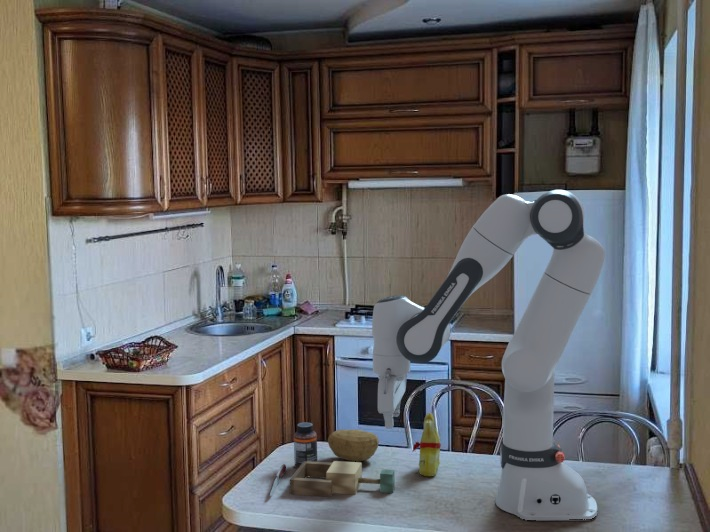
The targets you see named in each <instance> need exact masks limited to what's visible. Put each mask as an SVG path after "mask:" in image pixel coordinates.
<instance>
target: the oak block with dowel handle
mask: <svg viewBox="0 0 710 532" xmlns="http://www.w3.org/2000/svg"><path fill="white" fill-rule="evenodd" d="M331 463H332V464H331V466H330V467H329V469H328V471H327V472H326V478H325V480H332V494H341V495H342V494H343V495H357V492H358V490H359V488H360V486H361V485H362V484H369V485H370V484H371V485H372V484H374V485H379V488H380V489H379V490H380V491H379V492H380V493H387V494H388V493H389V494H390V493H394V490H395V488H396V487H395V486H396V484H395V483H396V482H395V469H386V468H385V469H381V471H380V473H379V478H371V477H369V478H368V477H363V472H362V470H363V467H362V461H356V462H355V461H342V460H341V461H339V460H333V462H331Z"/></svg>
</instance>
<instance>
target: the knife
mask: <svg viewBox="0 0 710 532" xmlns="http://www.w3.org/2000/svg"><path fill="white" fill-rule="evenodd" d="M286 472H287V465H286V464H284V463H283V464H282V465H281V466H280V467H279V469H278V471H277V473H276V475H275V480H274V481H273V485H272V488H271V491H270V494H269V497H272V496H273V495H274V493H275V491H276V488H277V486H279V485H280V480H281V478H282V476H284V475H285V473H286ZM283 474H284V475H283ZM278 484H279V485H278Z"/></svg>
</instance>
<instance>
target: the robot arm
mask: <svg viewBox="0 0 710 532" xmlns="http://www.w3.org/2000/svg"><path fill="white" fill-rule="evenodd" d="M584 221H585V209H584V206H583V203H582V202H581V200H580V198H578V196H576V195H575V194H574V193H572V192H571V191H568V190H564V189H553V190H549V191H547V192H545V193H543V194H541V195H540V196H539V197H538V198H537V199H535V200H533V201H527V200H525V199H524V198H522V197H520V196H518V195H515V194H510V193H508V194H507V193H506V194H502V195H499V197H497V198H496V199H495V200H494V201H493V202H492V203H491V204H490V205H489V206H488V207H487V208H486V209H485V210H484V212H483V213H482V214H481V215H480V217H478V219H477V221H476V222H474V224H473V226H472V227H471V228H470V229H469V232H468V233H467V235H466V236H465V238H464V240H463V242H462V243H461V246H460V247H459V250H458V252H457V255H456V257H455V259H454V261H453V263H452V266H451V267H450V270H449V273H448V274H447V276H446V278H445V279H444V281H443V282H442V284H441V285H440V286H439V288H438V289H437V291H436V292H435V293H434V294H433V296H432V297H431V299H430V300H429V301H428V303H427V304H426V305H425V307H424V306H421V305H419V304H417V303H415V302H413V301H412V300H410V299H409V298H408V297H407V296H406V295H390V296H387V297H383V298H381V299H379V300H377V302H376V303H375V304H374V306H373V310H372V311H373V312H372V322H371V323H372V324H371V325H372V327H371V329H372V331H371V335H372V338H373V346H372V347H373V349H372V372H373V373H374V374H376V375H378V384H377V411H378V413H379V414H383V415H382V416H383V419H384V427H385V429H387V430H388V429H391V430H392V429H393V427H394V425H395V424H394V421H395V420H394V417H396V418H398V417H399V416H400V412H401V411H400V407H401V402H402V401H401V400H402V398H403V396H404V394H405V392H406V388H407V378H408V374H409V373H411V363H414V364H426V363H429V362H431V361H433V360H434V359H435V358H436V357H437V356H438V354H439V353H440V351H441V349H443V347H444V346H445V344H446V343H447V342H448V340H449V339H450V337H451V332H452V331H451V324H450V323H451V322H452V320H453V319H454V318H455V316H456V315H457V314H458V312H459V311H460V309H461V308H462V306H463V305H464V304H465V303H466V301H467V300H468V299H469V298H470V296H472V294H473V293H475V292H476V291H477V290H478V289H479V288H481V287H482V286H484V285H485V284H486V283H487V282H488V281H490V280H492V279H493V278H494V277H495V276H496V275H497V274H498V273H500V271H501V270H502V269H504V268H505V266H506V265H507V264H508V263H509V262H510V260H511V259H512V258H513V257H514V255H516V252H517V251H518V249H519V248H520V246H521V245H522V244H523V243H524V242H525V241H526V240H527V239H528V238H529V237H531V236H533V235H538V236H539V237H540V238H542V240H544V241H545V242H546V243H547V244H548V245H549V246H551V247H552V254H551V258H550V260H549V262H548V264H547V266H546V268H545V270H544V272H543V274H542V276H541V278H540V279H539V281H538V283H537V286H536V288H535V290H534V292H533V294H532V296H531V298H530V301H529V302H528V304H527V306H526V309H525V310H524V313H523V314H522V317H521V319H520V321H519V323H518V325H517V327H516V329H515V332H514V333H513V336H512V337H511V339H510V340H509V342H508V344H507V346H506V349H505V351H504V354H503V356H502V359H501V371H502V374H503V376H504V379H505V380H504V396H503V397H504V398H503V406H502V408H503V411H502V412H503V413H502V417H503V420H502V421H503V422H502V425H503V426H502V441H501V443H500V451H499V453H500V455H499V456H500V457H499V460H500V467H501V473H500V480H499V484H498V486H499V487H498V490H497V494H496V497H495V500H494V501H495V502H494V503H495V505H496V506H497V508H499V509H501V510H502V511H505V512H507V513H510V514H512V515H515V516H517V517H518V518H519V517H520V519H521V518H522V519H521V520H523V519H525V520H524V521H527V520H536V521H570V520H569V519H583V520H582V521H587V520H586V519H592V518H594V517H595V516H596V517H597V515H598V512H597V511H598V503H597V501H596V499H595V498H594V497H593V496H592V495H591V494H589V493H588V490H587V486H586V483H585V481H584V479H583V477H582V476H581V475H580V473H578V472H576V471H575V470H574V469H572V467H570V466H569V465H567V464H566V463H565V461H566V458H565V453H564V452H563V450H562V448H561V447H560V444H555V443H554V406H555V405H554V403H555V401H554V400H555V371H556V369H557V367H558V363H559V362H560V360H561V357H562V355H563V353H564V351H565V348H566V346H567V345H568V342H569V339H570V338H571V336H572V334H573V331H574V329H575V326H576V325H577V323H578V321H579V319H580V317H581V315H582V314H583V311H584V309H585V307H586V305H587V303H588V301H589V299H590V297H591V295H592V293H593V291H594V289H595V287H596V284H597V282H598V280H599V277H600V275H601V272H602V269H603V266H604V263H605V258H606V251H605V248H604V246H603V245H602V244H601V243H600V241H599V240H597V239H596V238H595V237H593V236H591V235H589V234H588V233H586V232H585V230H584V228H585V227H584ZM596 517H595V518H596ZM595 518H594V519H595ZM584 519H585V520H584ZM592 520H593V519H592Z"/></svg>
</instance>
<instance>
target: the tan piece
mask: <svg viewBox="0 0 710 532" xmlns="http://www.w3.org/2000/svg"><path fill="white" fill-rule="evenodd" d="M332 463H333V462H327V461H326V462H325V461H324V462H323V461H317V462H312V461H304V462H303V463H302V464H301V466H300V467H299V468H298V469H297V468H296V471H295V472H294V473H293V475H292V476H291V477H290V479H289V495H299V496H300V495H301V496H315V497H328V498H331V497H332V496H333V493H332V480H326V472H327V471H328V469H329V467H330V466H331V464H332ZM308 476H310V477H308ZM317 477H321V478H320V479H319V478H317Z"/></svg>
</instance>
